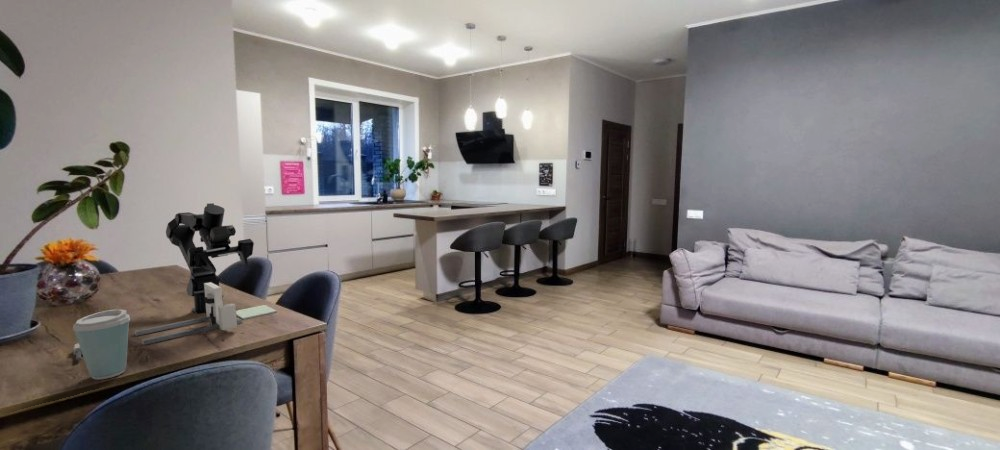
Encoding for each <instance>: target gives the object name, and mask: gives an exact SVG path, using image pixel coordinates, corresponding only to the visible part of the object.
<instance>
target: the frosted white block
mask: <svg viewBox="0 0 1000 450" xmlns="http://www.w3.org/2000/svg"><path fill="white" fill-rule="evenodd" d="M204 289H205V297H207V294H210V293H214V302H215V315H216V323H217V324H219V327H220V328H219V329H220V330H222V331H226V330H232V329H235V328H238V324H237V319H238V316H236V311H237V307H236V304H235V303H233V302H232V303H226V304H223V301H224V300H223V301H222V295H223V290H222V287H221V286H220V285H219V286H217V285H215V284H213V283H211V282H209V283H204ZM210 313H211V304H207V303H206V316H207V317H209V316H210V315H209V314H210Z"/></svg>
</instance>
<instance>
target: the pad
mask: <svg viewBox="0 0 1000 450" xmlns="http://www.w3.org/2000/svg"><path fill="white" fill-rule="evenodd" d="M277 312H278V311H277V310H276V309H274V308H272V307H270V306H269V305H266V304H263V305H258V306H252V307H248V308H242V309H239V310H237V309H236V317H237V318H239V319H242V320H248V319H251V318H257V317H261V316H265V315H271V314H274V313H277Z"/></svg>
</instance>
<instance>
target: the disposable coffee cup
mask: <svg viewBox="0 0 1000 450" xmlns="http://www.w3.org/2000/svg"><path fill="white" fill-rule="evenodd" d="M130 321H131V317H130V314H128V313H127V310H126V309H108V310H103V311H99V312H95V313H91V314H89V315H85V316H84V317H82V318H79V319H77V320H76V322H75V323H74V324H73V326H72V331H74V334H75V338H76V340H77V342H78V343H79V346H80V349H81V351H82V354H81V355H82V357H83V360H84V362H85V363H84V364H85V365H86V367H87V371H88V374H89V376H90V377H91V379H93V380H105V379H110V378H114V377H116V376H120V375H121V374H123V373H125V372H126V368H127V361H128V360H127V359H128V346H129V345H128V344H129V343H128V342H129V328H130V327H129V326H130V324H129V323H130Z"/></svg>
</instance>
